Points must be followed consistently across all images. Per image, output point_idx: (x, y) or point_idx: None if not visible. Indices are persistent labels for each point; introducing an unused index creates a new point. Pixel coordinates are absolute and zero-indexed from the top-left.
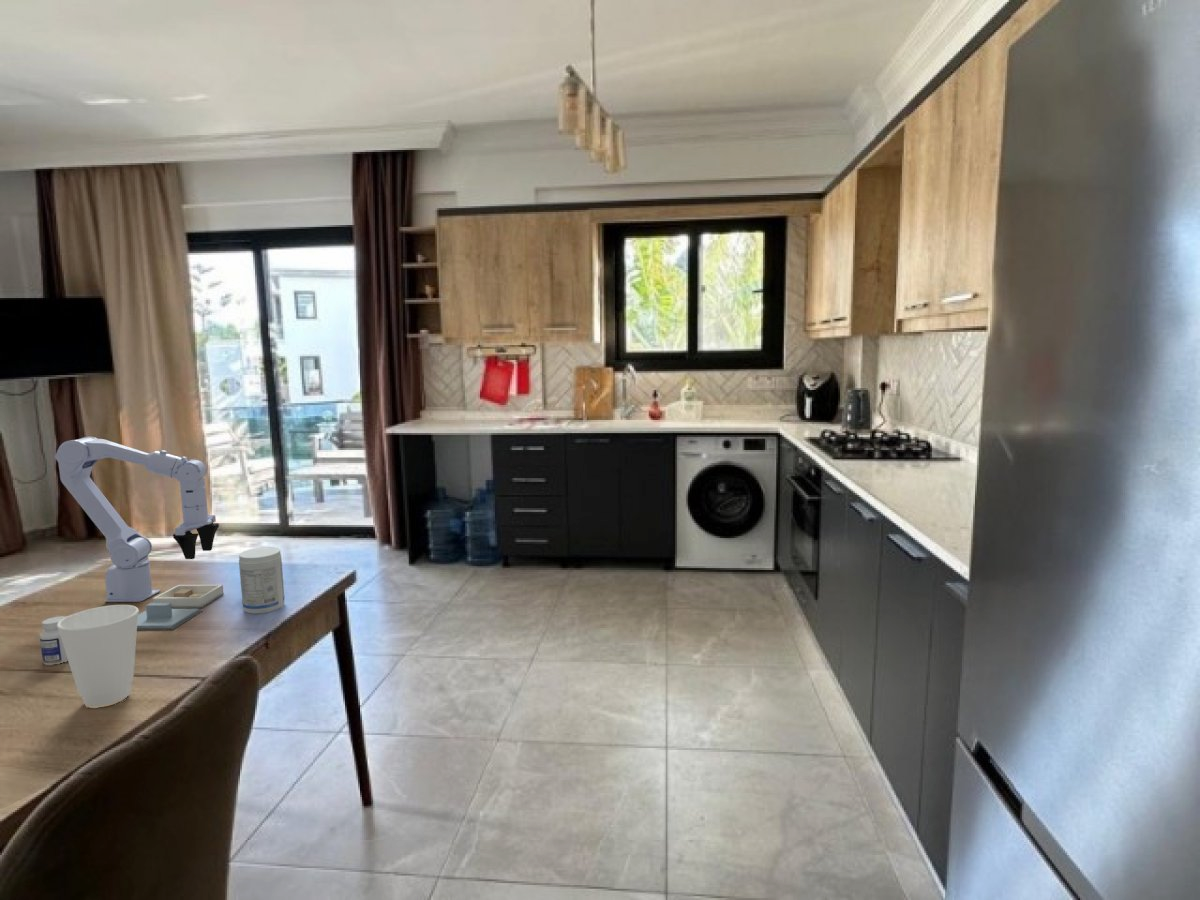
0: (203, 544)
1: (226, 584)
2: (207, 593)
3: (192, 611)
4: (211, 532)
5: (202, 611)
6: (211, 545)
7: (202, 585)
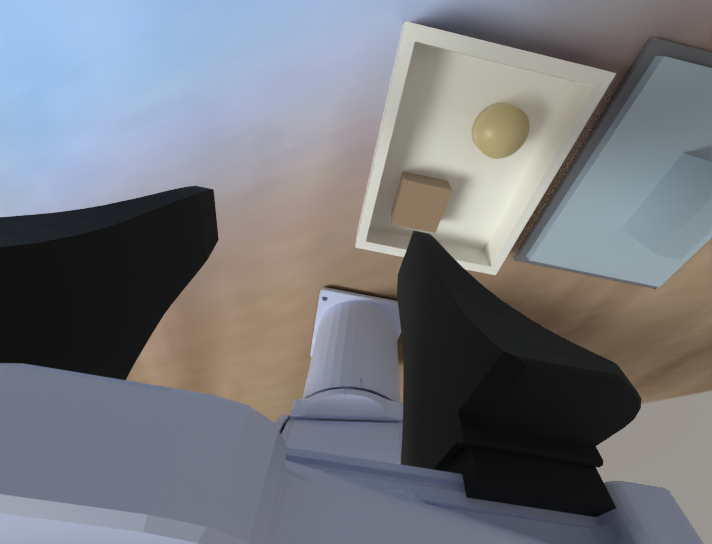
0: (191, 260)
1: (250, 73)
2: (544, 60)
3: (691, 74)
4: (76, 256)
5: (651, 38)
6: (184, 194)
7: (388, 143)
